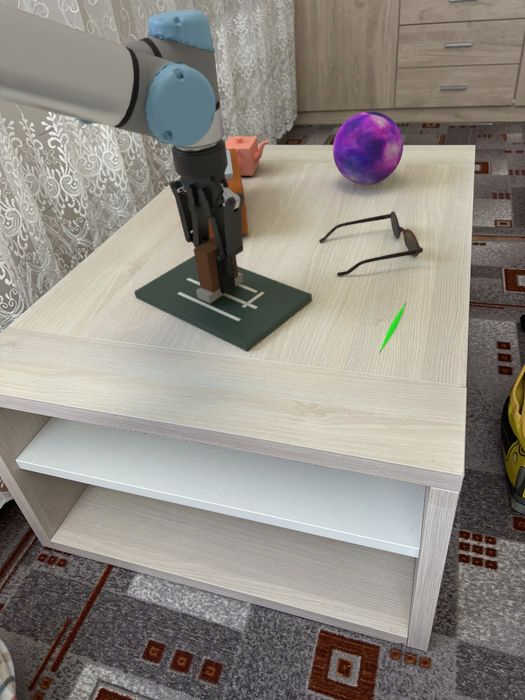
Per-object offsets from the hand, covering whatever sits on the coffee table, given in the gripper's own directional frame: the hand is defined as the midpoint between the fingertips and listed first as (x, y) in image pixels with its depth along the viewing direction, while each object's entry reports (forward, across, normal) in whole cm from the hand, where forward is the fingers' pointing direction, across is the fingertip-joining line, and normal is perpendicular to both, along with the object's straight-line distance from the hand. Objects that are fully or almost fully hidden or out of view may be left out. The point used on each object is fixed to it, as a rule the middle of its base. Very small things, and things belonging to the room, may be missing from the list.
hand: (220, 285), depth 91 cm
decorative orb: (+3, +5, -53) cm, 53 cm away
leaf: (+3, -27, -9) cm, 29 cm away
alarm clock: (+3, +22, -24) cm, 33 cm away
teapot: (+3, +35, -44) cm, 56 cm away
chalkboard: (+3, 0, 0) cm, 3 cm away
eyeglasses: (+3, -12, -26) cm, 29 cm away
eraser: (+1, 0, 0) cm, 1 cm away
